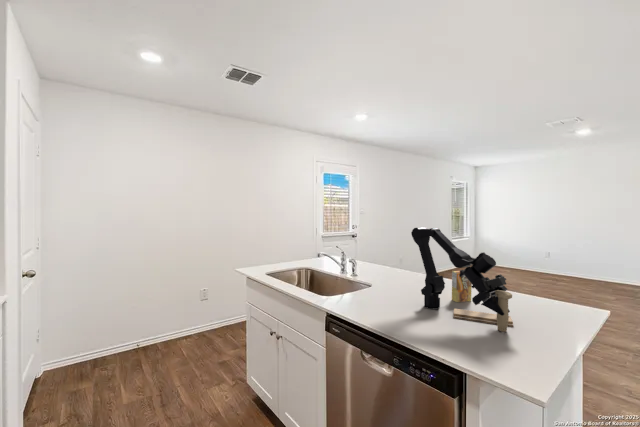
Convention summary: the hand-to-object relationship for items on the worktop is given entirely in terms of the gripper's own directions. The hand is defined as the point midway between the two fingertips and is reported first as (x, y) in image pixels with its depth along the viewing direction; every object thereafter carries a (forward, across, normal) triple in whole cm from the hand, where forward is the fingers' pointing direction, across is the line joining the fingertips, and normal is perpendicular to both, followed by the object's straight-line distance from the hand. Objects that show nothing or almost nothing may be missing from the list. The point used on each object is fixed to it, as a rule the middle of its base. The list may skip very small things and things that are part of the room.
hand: (506, 313), depth 114 cm
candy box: (-16, +23, +26) cm, 39 cm away
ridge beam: (-4, +7, +14) cm, 16 cm away
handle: (+4, 0, +6) cm, 7 cm away
